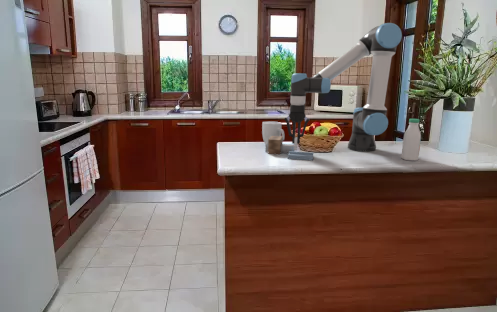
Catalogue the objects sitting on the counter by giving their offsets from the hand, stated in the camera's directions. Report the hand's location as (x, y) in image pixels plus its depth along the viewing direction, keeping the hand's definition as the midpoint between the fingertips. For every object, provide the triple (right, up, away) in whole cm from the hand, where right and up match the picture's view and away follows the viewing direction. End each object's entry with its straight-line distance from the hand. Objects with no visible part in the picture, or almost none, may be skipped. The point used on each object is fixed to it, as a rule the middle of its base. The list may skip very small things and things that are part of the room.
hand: (295, 149), depth 185 cm
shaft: (-8, -1, +2) cm, 8 cm away
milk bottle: (+55, -5, -10) cm, 56 cm away
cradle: (+1, -4, -10) cm, 11 cm away
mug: (-11, +3, +21) cm, 23 cm away
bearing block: (-10, -1, +3) cm, 11 cm away
